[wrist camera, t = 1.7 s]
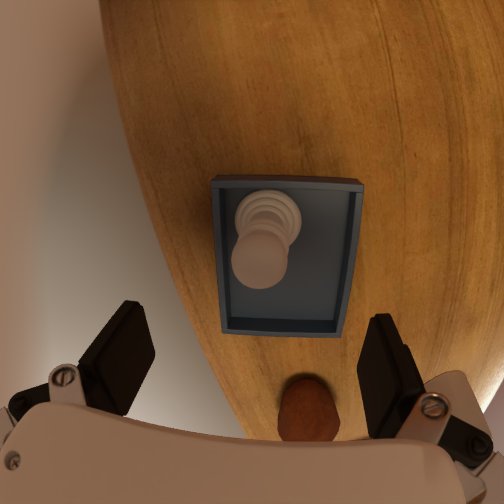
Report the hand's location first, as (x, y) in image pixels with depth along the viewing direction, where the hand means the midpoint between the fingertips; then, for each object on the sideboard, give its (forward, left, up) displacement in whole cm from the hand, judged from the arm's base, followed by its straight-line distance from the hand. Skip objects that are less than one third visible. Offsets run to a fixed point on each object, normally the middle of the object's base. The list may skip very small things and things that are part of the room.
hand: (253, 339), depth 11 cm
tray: (+3, +1, -14) cm, 15 cm away
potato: (+23, +5, -14) cm, 28 cm away
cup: (+24, +25, -14) cm, 38 cm away
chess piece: (0, 0, -14) cm, 14 cm away
